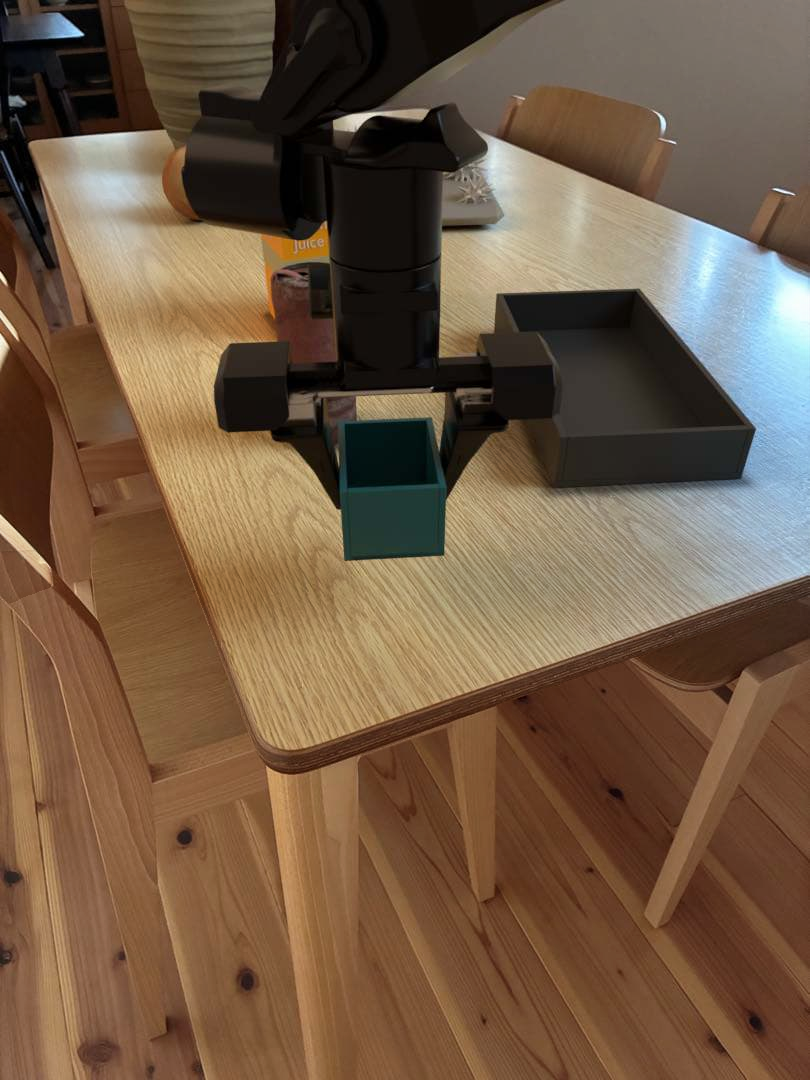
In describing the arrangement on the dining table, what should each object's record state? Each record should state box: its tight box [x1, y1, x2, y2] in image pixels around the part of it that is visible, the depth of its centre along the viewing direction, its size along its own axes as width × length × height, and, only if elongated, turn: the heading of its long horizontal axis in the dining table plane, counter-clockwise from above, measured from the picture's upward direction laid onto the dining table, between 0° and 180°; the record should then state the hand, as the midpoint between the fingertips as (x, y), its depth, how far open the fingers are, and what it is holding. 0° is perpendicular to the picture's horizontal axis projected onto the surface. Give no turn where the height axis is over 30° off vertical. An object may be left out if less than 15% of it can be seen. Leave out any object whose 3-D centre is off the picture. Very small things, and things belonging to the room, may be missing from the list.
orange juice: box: [260, 221, 330, 320], centre depth 83 cm, size 8×9×20 cm
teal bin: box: [338, 416, 447, 562], centre depth 50 cm, size 6×8×5 cm
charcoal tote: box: [493, 288, 757, 488], centre depth 74 cm, size 15×29×5 cm, turn 4°
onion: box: [161, 146, 202, 221], centre depth 117 cm, size 10×10×10 cm
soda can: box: [270, 262, 358, 446], centre depth 66 cm, size 6×6×14 cm
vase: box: [123, 0, 276, 151], centre depth 134 cm, size 25×24×30 cm
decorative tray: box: [347, 124, 505, 227], centre depth 124 cm, size 35×26×10 cm
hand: (390, 503), depth 50 cm, fingers closed on teal bin, 6 cm apart
